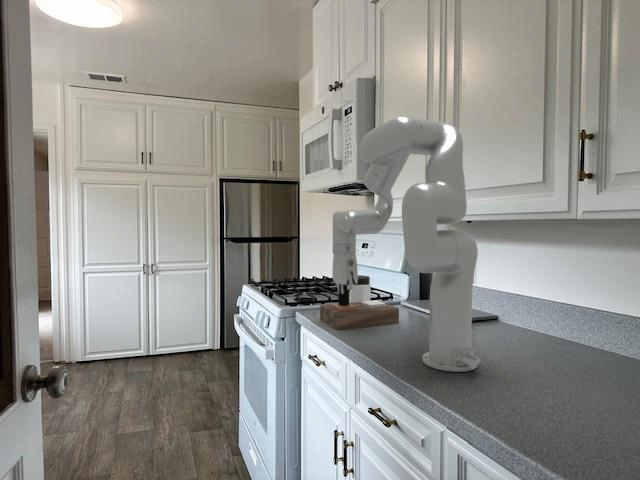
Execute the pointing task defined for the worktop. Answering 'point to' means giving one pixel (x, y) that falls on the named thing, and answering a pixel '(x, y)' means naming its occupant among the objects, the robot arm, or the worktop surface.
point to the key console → (359, 316)
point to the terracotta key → (343, 307)
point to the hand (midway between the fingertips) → (343, 305)
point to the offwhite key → (373, 304)
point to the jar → (360, 290)
